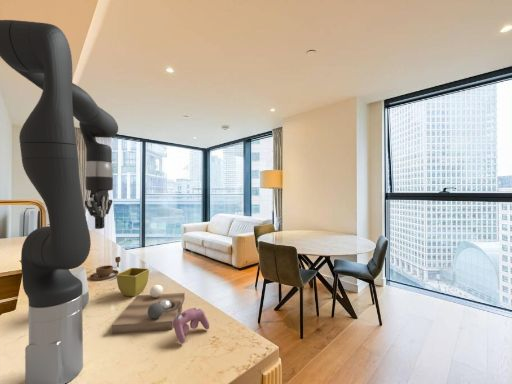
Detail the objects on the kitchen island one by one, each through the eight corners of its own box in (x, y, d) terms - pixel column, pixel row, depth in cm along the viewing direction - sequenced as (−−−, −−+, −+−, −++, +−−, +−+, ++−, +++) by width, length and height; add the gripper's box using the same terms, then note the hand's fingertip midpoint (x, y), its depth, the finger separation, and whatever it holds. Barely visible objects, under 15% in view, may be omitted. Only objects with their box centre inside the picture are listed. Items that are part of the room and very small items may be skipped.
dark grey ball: (161, 321, 70) (161, 306, 70) (145, 322, 70) (145, 307, 70) (165, 313, 75) (164, 299, 75) (150, 314, 74) (150, 300, 74)
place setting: (79, 279, 114) (79, 267, 114) (117, 266, 133) (117, 256, 133) (105, 284, 108) (104, 271, 108) (141, 270, 126) (141, 259, 126)
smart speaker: (55, 309, 84) (55, 269, 84) (87, 301, 89) (87, 264, 90) (55, 319, 76) (55, 276, 76) (90, 310, 82) (90, 270, 82)
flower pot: (135, 299, 91) (135, 276, 91) (115, 297, 92) (115, 274, 92) (150, 290, 99) (149, 268, 99) (131, 288, 101) (131, 267, 101)
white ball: (161, 299, 85) (161, 287, 85) (148, 300, 84) (148, 287, 84) (164, 294, 89) (164, 282, 89) (152, 294, 89) (152, 283, 89)
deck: (174, 329, 71) (174, 320, 71) (111, 333, 68) (111, 325, 68) (186, 299, 90) (186, 292, 90) (137, 302, 88) (137, 295, 88)
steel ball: (163, 300, 78) (153, 310, 77) (172, 309, 78) (162, 319, 78) (166, 294, 82) (157, 304, 82) (175, 303, 82) (166, 312, 82)
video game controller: (202, 327, 72) (198, 303, 74) (211, 328, 70) (207, 303, 71) (172, 343, 65) (168, 316, 66) (182, 345, 62) (177, 317, 63)
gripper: (101, 174, 72) (101, 231, 72) (120, 177, 85) (120, 225, 85) (74, 174, 71) (74, 232, 71) (98, 177, 85) (98, 226, 85)
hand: (99, 228), depth 78 cm, fingers closed
